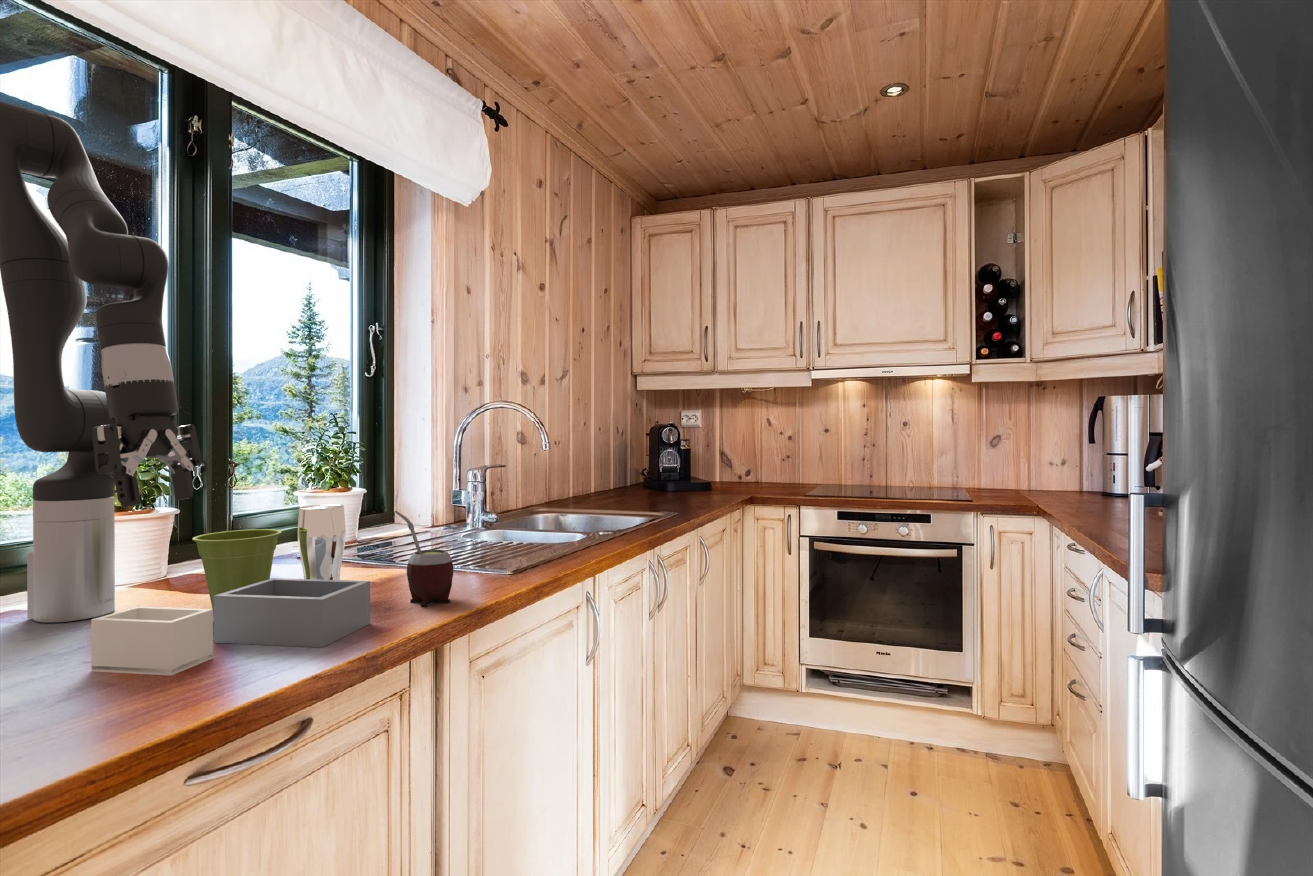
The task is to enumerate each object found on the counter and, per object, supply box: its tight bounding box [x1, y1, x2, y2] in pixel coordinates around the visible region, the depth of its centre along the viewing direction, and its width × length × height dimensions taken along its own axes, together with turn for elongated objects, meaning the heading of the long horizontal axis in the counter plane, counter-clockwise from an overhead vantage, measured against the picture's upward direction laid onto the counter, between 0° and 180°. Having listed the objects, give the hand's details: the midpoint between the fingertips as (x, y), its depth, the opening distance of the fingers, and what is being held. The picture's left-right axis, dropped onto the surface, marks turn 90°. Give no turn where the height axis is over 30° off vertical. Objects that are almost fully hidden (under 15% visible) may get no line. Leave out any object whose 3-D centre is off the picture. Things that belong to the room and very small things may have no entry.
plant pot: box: [192, 528, 282, 611], centre depth 108 cm, size 12×12×11 cm
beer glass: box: [297, 504, 347, 580], centre depth 112 cm, size 7×7×15 cm
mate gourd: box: [394, 510, 454, 608], centre depth 110 cm, size 8×8×15 cm
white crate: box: [90, 606, 214, 676], centre depth 81 cm, size 6×10×6 cm, turn 82°
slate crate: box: [213, 577, 371, 648], centre depth 94 cm, size 11×15×6 cm
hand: (159, 502), depth 93 cm, fingers open, 8 cm apart
